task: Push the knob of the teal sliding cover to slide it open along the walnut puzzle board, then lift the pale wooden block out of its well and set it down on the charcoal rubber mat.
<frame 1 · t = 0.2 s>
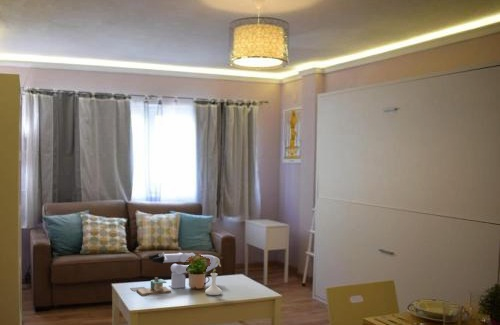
hand: (150, 258, 351), 21 cm above the table, tool horizontal, fingers open, 7 cm apart
flower in vase: (213, 294, 344), on the table
block: (158, 287, 346), in the board
coffee mug: (200, 288, 359), on the table
mat: (138, 289, 352), on the table
board: (158, 291, 346), on the table
cover: (158, 283, 346), point 6 cm above the table, slide at 0.0 cm
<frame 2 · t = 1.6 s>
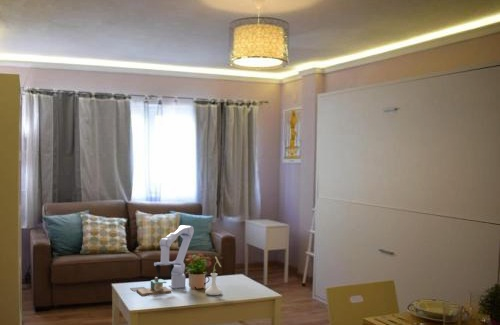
hand: (164, 276, 348), 10 cm above the table, tool pointing down, fingers open, 7 cm apart
nothing on the table moved.
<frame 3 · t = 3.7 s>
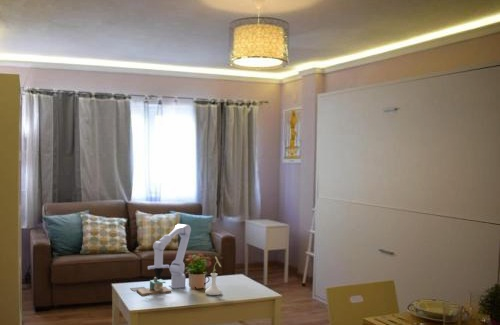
hand: (158, 279, 346), 8 cm above the table, tool pointing down, fingers closed
cover: (157, 283, 346), point 6 cm above the table, slide at 0.6 cm, touching gripper
everything else where it was.
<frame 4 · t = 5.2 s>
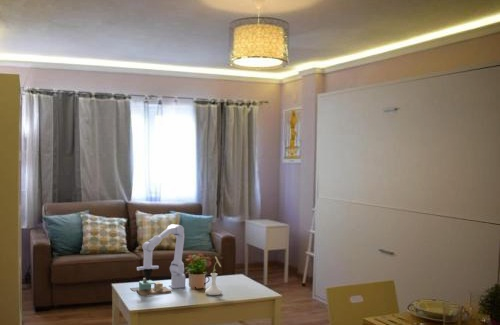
hand: (147, 280, 343), 8 cm above the table, tool pointing down, fingers closed
cover: (146, 284, 343), point 6 cm above the table, slide at 8.0 cm, touching gripper
everything else where it was.
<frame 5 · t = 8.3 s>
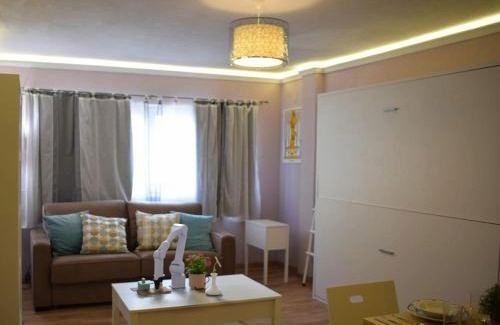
hand: (158, 288, 346), 2 cm above the table, tool pointing down, fingers closed on block, 6 cm apart
block: (158, 287, 346), in the board, touching gripper
cover: (145, 284, 342), point 6 cm above the table, slide at 8.9 cm
everything else where it was.
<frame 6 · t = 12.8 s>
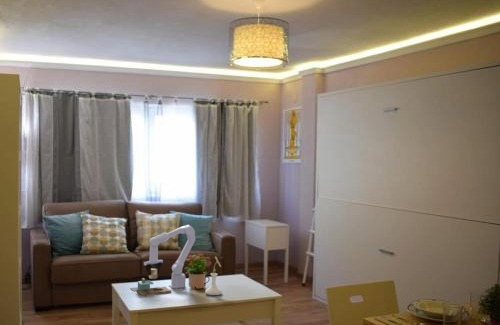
hand: (153, 274, 357), 9 cm above the table, tool pointing down, fingers closed on block, 6 cm apart
block: (153, 273, 357), point 10 cm above the table, touching gripper
everything else where it was.
when the fingers open (4 cm above the table, at t = 17.2 s): block stays where it is, resting on mat.
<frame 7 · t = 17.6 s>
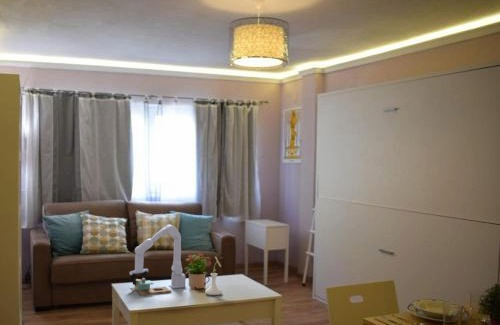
hand: (138, 283, 352), 4 cm above the table, tool pointing down, fingers open, 7 cm apart
block: (138, 284, 352), resting on mat
everything else where it was.
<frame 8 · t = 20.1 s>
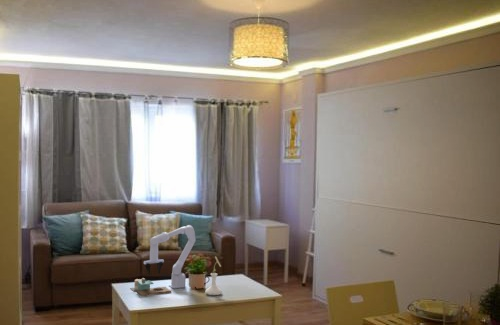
hand: (153, 273, 359), 9 cm above the table, tool pointing down, fingers open, 7 cm apart
nothing on the table moved.
at the end: cover slide at 8.9 cm; block inside the target area (0.0 cm from its centre), resting on mat; block tilted 0° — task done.
